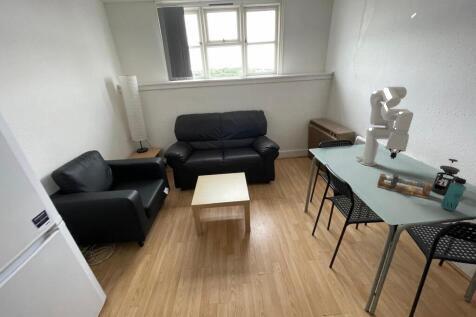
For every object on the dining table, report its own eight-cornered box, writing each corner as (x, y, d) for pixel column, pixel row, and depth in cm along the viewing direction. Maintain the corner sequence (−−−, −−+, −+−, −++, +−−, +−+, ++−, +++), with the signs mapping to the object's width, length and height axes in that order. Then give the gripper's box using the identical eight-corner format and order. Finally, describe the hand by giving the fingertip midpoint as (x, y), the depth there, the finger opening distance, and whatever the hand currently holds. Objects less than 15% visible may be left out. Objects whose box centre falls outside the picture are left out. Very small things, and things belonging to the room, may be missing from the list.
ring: (390, 186, 137) (394, 176, 134) (390, 181, 143) (394, 171, 140) (395, 187, 136) (398, 177, 133) (395, 182, 142) (398, 172, 139)
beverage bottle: (436, 206, 120) (449, 176, 112) (446, 205, 121) (460, 175, 113) (447, 213, 114) (462, 182, 106) (458, 212, 115) (473, 181, 107)
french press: (433, 194, 132) (447, 161, 122) (426, 186, 140) (438, 155, 131) (456, 196, 128) (472, 163, 119) (447, 189, 136) (461, 157, 127)
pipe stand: (377, 187, 141) (379, 177, 138) (378, 180, 149) (380, 171, 146) (428, 199, 127) (432, 188, 124) (426, 191, 134) (430, 181, 131)
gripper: (385, 131, 128) (378, 157, 136) (416, 134, 120) (407, 162, 128) (386, 128, 134) (379, 154, 141) (415, 131, 126) (406, 158, 133)
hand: (392, 158), depth 134 cm, fingers closed
